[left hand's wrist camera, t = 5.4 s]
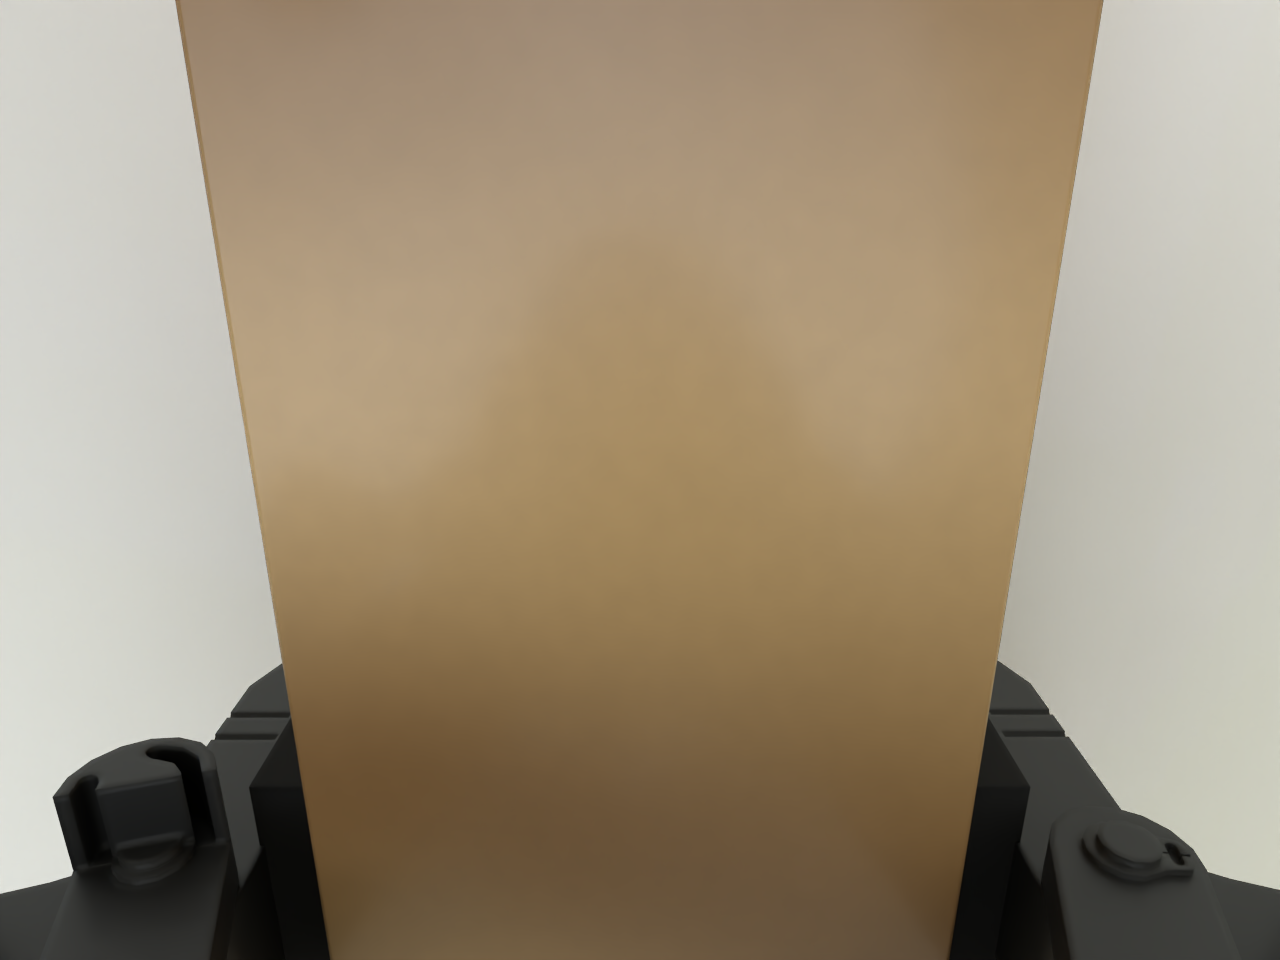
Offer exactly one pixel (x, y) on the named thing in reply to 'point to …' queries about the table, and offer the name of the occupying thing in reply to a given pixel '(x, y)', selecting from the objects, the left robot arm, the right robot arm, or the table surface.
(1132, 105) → the table surface
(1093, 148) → the table surface
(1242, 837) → the table surface
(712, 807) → the beam
